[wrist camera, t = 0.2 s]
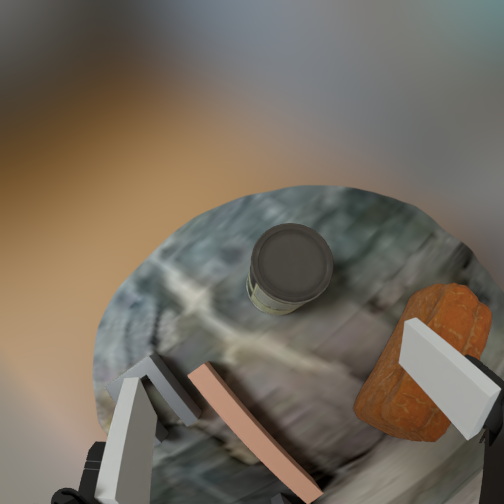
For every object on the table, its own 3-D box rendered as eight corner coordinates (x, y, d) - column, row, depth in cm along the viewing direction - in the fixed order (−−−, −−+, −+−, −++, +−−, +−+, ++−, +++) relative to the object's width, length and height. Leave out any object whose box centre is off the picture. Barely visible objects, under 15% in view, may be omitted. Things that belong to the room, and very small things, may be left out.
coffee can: (235, 271, 50) (236, 243, 37) (289, 246, 52) (308, 210, 39) (263, 327, 48) (276, 319, 34) (318, 298, 50) (348, 279, 36)
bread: (457, 320, 50) (508, 307, 36) (397, 439, 42) (445, 459, 28) (412, 283, 52) (461, 261, 37) (343, 409, 44) (384, 429, 30)
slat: (312, 477, 40) (323, 493, 33) (298, 487, 39) (307, 504, 33) (208, 361, 46) (204, 363, 39) (193, 371, 45) (187, 375, 38)
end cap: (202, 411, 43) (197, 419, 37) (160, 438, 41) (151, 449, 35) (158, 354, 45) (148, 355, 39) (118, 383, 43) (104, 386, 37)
